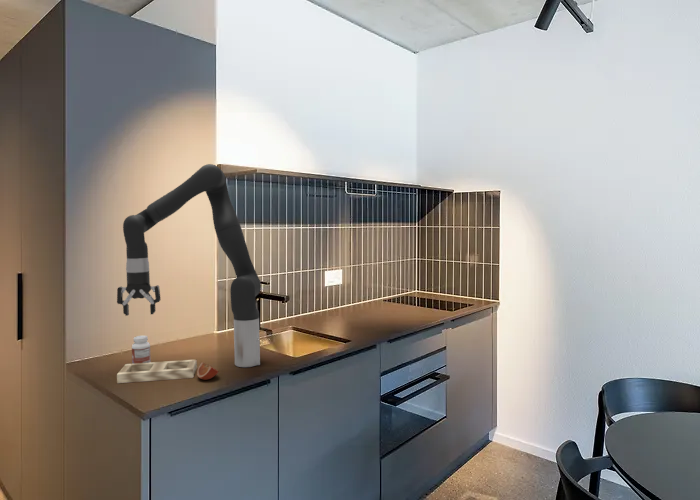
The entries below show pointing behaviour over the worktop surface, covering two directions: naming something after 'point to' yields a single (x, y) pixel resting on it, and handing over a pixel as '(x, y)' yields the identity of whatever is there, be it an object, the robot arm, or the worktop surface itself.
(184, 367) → the rail
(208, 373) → the fruit slice
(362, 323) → the worktop surface
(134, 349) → the pill bottle
